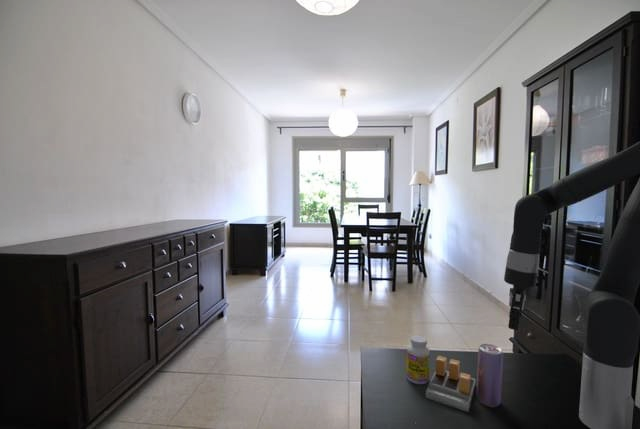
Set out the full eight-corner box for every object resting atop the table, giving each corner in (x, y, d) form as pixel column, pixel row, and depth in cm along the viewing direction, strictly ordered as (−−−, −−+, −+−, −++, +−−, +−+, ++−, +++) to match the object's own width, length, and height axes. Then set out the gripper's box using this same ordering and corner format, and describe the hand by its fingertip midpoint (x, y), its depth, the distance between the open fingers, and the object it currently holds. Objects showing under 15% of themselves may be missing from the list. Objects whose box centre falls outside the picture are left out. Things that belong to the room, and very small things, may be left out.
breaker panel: (475, 385, 97) (475, 374, 97) (468, 412, 85) (469, 400, 85) (436, 374, 103) (437, 364, 103) (425, 397, 91) (426, 386, 91)
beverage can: (503, 409, 86) (506, 355, 85) (479, 406, 87) (482, 352, 86) (496, 395, 92) (498, 344, 91) (473, 392, 93) (476, 342, 92)
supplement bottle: (403, 381, 99) (405, 340, 98) (408, 370, 105) (409, 332, 104) (426, 387, 96) (428, 345, 95) (430, 376, 101) (431, 336, 100)
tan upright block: (470, 390, 90) (470, 374, 90) (468, 396, 88) (469, 379, 88) (460, 387, 92) (461, 371, 91) (458, 393, 89) (459, 376, 89)
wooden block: (446, 371, 100) (446, 357, 99) (444, 376, 97) (444, 361, 97) (437, 369, 101) (438, 354, 101) (435, 374, 99) (436, 359, 98)
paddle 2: (459, 375, 98) (459, 360, 97) (457, 380, 95) (458, 365, 95) (450, 373, 99) (451, 358, 99) (448, 377, 97) (449, 362, 96)
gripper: (539, 276, 81) (529, 337, 83) (536, 265, 93) (528, 319, 95) (505, 269, 85) (496, 328, 87) (507, 260, 97) (499, 311, 99)
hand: (513, 323), depth 91 cm, fingers open, 8 cm apart
